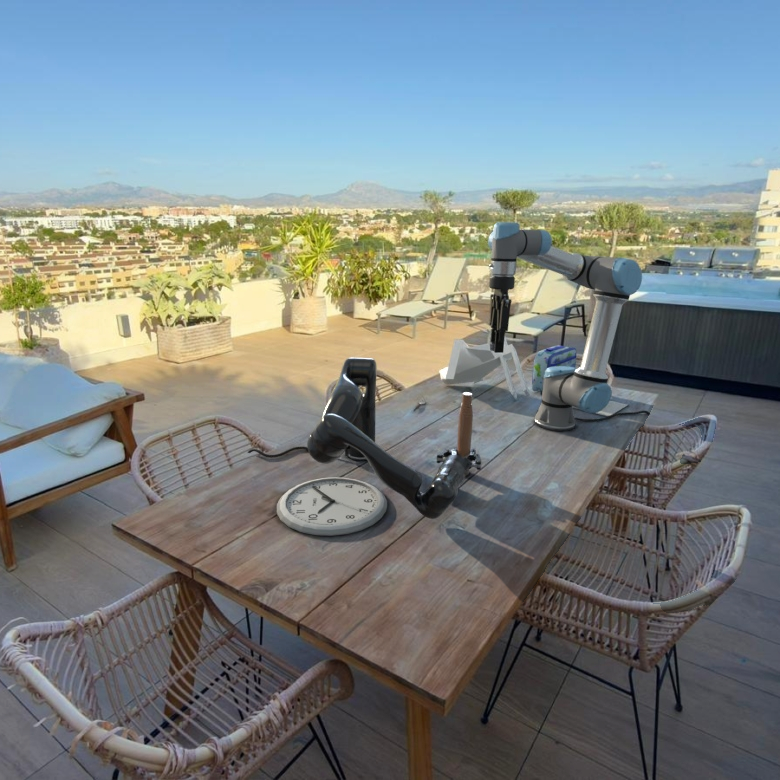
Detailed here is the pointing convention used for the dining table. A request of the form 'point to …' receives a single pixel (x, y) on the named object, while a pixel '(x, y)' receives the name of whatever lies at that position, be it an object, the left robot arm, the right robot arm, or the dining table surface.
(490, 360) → the white plastic object
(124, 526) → the dining table surface
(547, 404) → the right robot arm
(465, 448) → the ringed wooden cylinder
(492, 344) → the cap
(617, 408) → the invitation card
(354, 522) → the wall clock
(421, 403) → the fork
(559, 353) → the lunch box
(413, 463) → the dining table surface
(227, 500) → the dining table surface
